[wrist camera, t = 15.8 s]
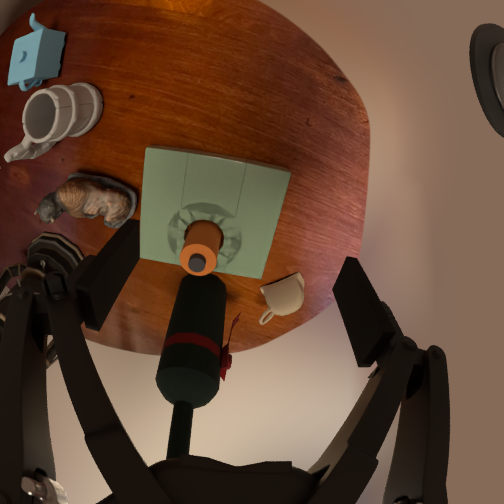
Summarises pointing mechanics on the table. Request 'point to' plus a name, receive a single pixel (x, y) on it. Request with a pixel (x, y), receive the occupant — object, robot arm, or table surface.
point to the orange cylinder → (201, 248)
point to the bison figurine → (90, 200)
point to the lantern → (40, 273)
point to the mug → (56, 117)
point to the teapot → (36, 56)
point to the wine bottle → (193, 354)
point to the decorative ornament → (283, 296)
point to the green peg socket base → (210, 205)
